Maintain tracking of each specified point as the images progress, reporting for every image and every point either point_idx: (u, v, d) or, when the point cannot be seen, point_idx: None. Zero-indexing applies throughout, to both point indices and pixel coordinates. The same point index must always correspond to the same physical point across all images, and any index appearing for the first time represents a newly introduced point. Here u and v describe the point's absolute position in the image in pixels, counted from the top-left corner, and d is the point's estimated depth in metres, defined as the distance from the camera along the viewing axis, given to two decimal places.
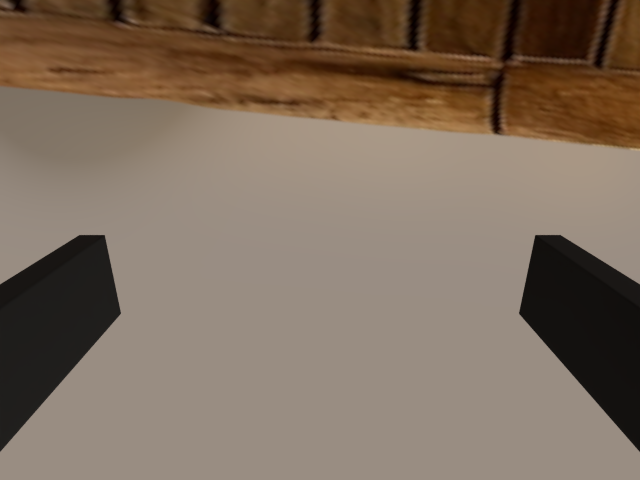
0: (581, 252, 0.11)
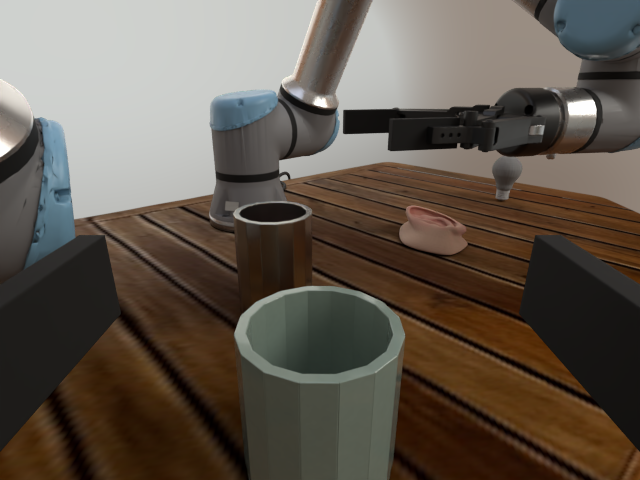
0: (581, 252, 0.11)
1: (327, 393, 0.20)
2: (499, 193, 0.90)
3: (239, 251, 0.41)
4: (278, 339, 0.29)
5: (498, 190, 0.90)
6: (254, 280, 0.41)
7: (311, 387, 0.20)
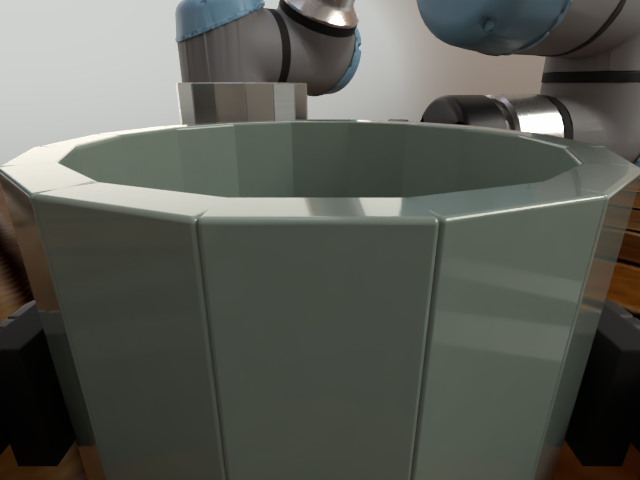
0: None
1: (365, 287, 0.03)
2: None
3: None
4: None
5: None
6: None
7: (273, 247, 0.03)
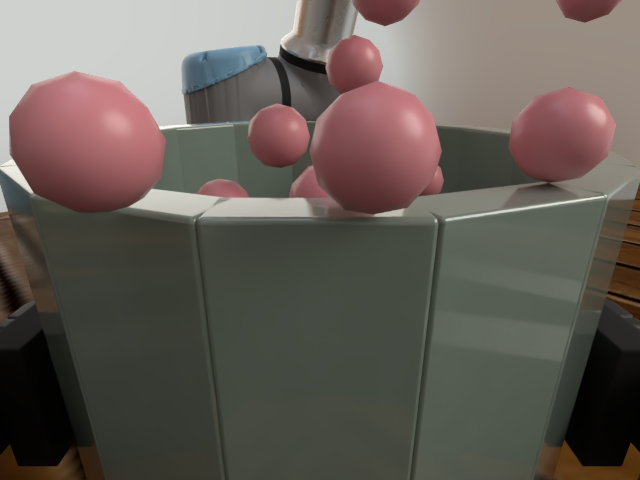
0: None
1: (364, 288, 0.03)
2: None
3: None
4: None
5: None
6: None
7: (272, 248, 0.03)
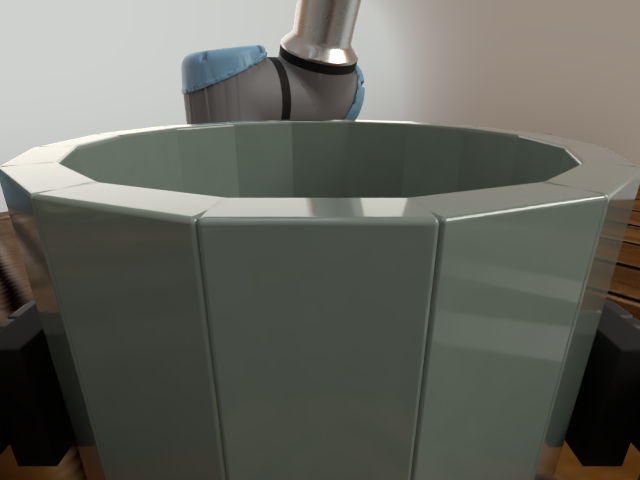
0: None
1: (365, 289, 0.03)
2: None
3: None
4: None
5: None
6: None
7: (272, 249, 0.03)
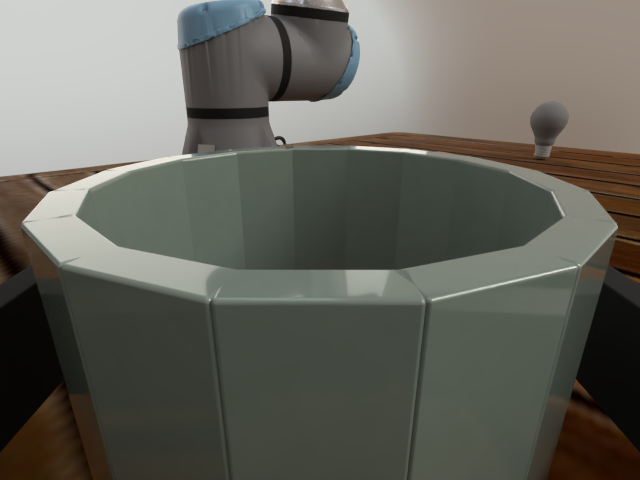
0: None
1: (362, 357, 0.04)
2: (539, 149, 0.74)
3: None
4: (227, 262, 0.13)
5: (538, 146, 0.73)
6: None
7: (277, 324, 0.04)
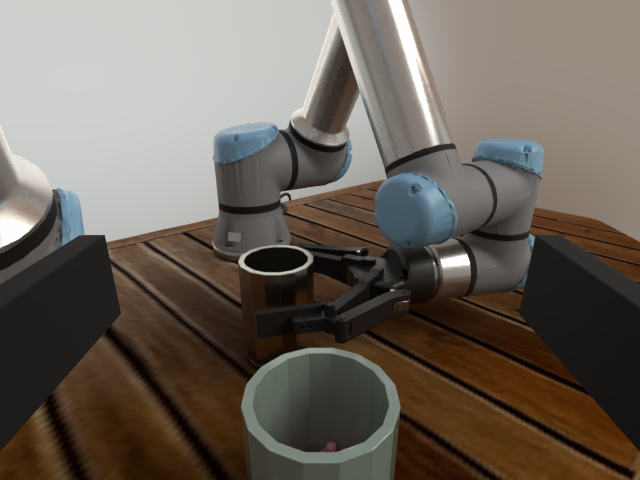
0: (581, 252, 0.11)
1: (328, 471, 0.22)
2: None
3: (244, 297, 0.43)
4: (282, 399, 0.31)
5: None
6: None
7: (313, 466, 0.22)
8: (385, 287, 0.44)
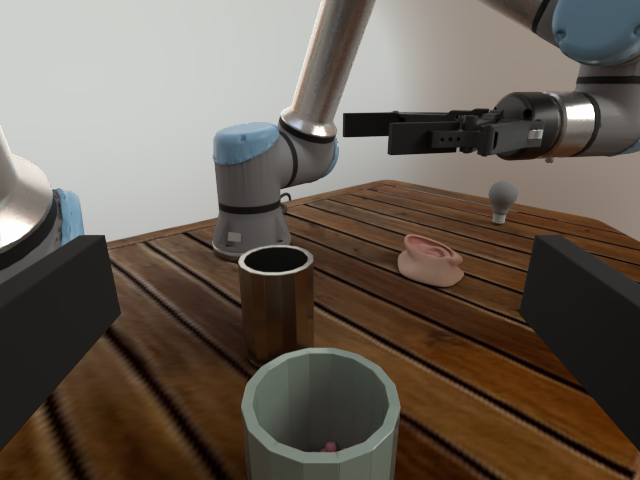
0: (581, 252, 0.11)
1: (328, 471, 0.22)
2: (495, 217, 0.91)
3: (244, 297, 0.43)
4: (282, 399, 0.31)
5: (495, 214, 0.91)
6: (259, 326, 0.43)
7: (313, 466, 0.22)
8: None
